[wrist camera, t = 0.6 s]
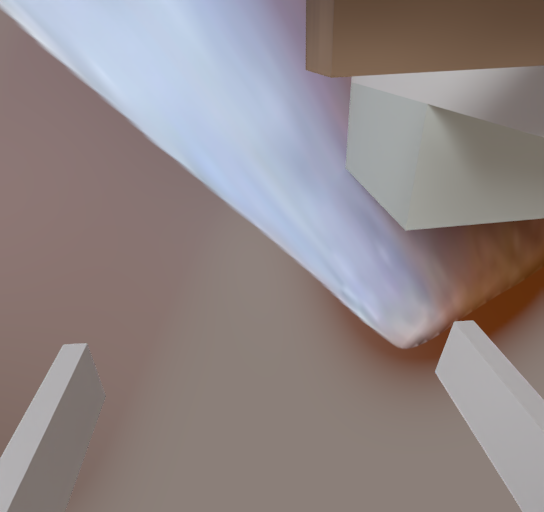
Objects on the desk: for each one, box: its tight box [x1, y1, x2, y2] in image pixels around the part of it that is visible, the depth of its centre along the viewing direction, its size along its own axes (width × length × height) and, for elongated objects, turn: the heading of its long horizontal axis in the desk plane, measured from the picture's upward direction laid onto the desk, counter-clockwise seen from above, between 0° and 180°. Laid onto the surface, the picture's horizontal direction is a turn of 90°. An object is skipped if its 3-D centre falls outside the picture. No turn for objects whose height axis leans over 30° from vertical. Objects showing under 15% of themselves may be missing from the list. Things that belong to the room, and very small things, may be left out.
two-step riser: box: [346, 66, 544, 230], centre depth 28 cm, size 20×22×30 cm
